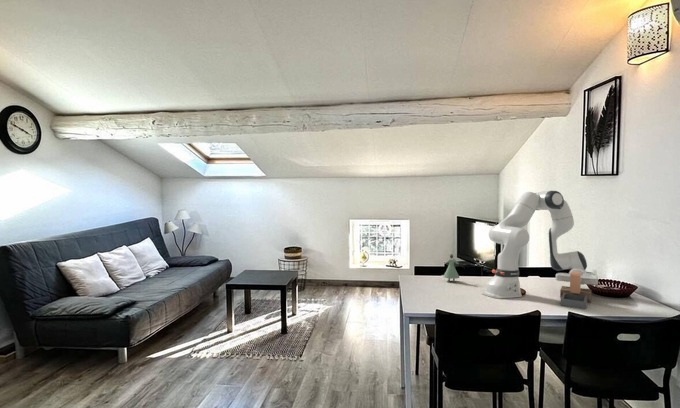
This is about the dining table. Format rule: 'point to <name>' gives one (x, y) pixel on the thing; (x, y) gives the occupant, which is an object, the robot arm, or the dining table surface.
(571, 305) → the box
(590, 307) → the dining table surface
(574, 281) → the terracotta block
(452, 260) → the character figurine
